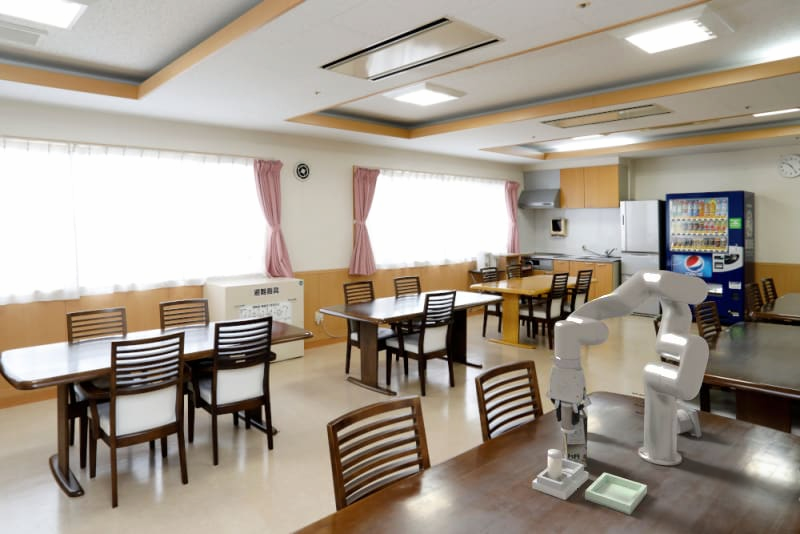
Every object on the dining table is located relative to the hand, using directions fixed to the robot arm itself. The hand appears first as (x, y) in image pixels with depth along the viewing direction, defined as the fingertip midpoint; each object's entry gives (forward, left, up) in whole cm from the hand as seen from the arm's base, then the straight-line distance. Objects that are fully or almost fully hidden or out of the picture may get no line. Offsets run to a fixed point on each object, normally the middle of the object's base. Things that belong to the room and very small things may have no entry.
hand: (567, 421), depth 153 cm
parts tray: (+1, +15, -18) cm, 23 cm away
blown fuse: (0, 0, -3) cm, 3 cm away
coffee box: (-13, -3, -18) cm, 22 cm away
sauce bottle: (-35, -12, -18) cm, 41 cm away
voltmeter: (-62, +11, -18) cm, 65 cm away
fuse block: (+4, 0, -18) cm, 18 cm away
